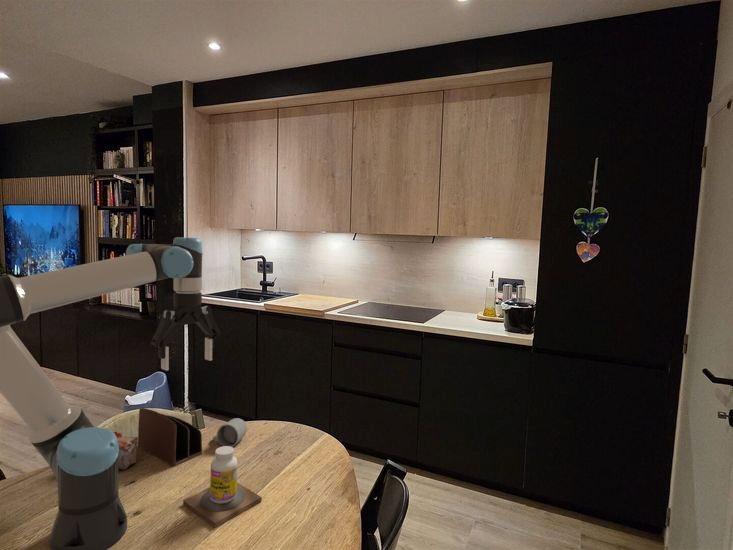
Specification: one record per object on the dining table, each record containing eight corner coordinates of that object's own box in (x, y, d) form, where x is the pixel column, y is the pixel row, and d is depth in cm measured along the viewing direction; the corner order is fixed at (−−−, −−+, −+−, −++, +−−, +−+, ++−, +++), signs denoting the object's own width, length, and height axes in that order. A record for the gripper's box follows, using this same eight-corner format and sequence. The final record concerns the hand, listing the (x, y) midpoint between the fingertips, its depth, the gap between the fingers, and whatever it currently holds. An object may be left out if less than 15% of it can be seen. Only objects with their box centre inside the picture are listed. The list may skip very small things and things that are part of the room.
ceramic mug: (248, 438, 153) (248, 416, 153) (237, 449, 145) (237, 426, 145) (220, 434, 155) (220, 413, 154) (207, 445, 147) (207, 423, 146)
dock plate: (215, 527, 107) (215, 522, 107) (183, 504, 115) (183, 499, 115) (261, 501, 118) (261, 496, 118) (229, 481, 126) (229, 477, 126)
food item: (141, 459, 136) (141, 428, 135) (127, 473, 128) (127, 441, 128) (97, 457, 136) (97, 426, 136) (80, 471, 128) (80, 438, 128)
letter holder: (173, 467, 133) (173, 422, 132) (137, 447, 144) (137, 405, 143) (202, 454, 141) (202, 411, 140) (166, 436, 152) (166, 396, 151)
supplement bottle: (205, 503, 113) (206, 455, 112) (216, 489, 120) (217, 443, 119) (231, 506, 113) (232, 457, 112) (240, 491, 120) (241, 445, 118)
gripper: (218, 287, 139) (217, 353, 141) (137, 293, 120) (137, 370, 122) (232, 289, 135) (231, 358, 137) (151, 297, 115) (151, 377, 117)
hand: (187, 364), depth 129 cm, fingers open, 13 cm apart
